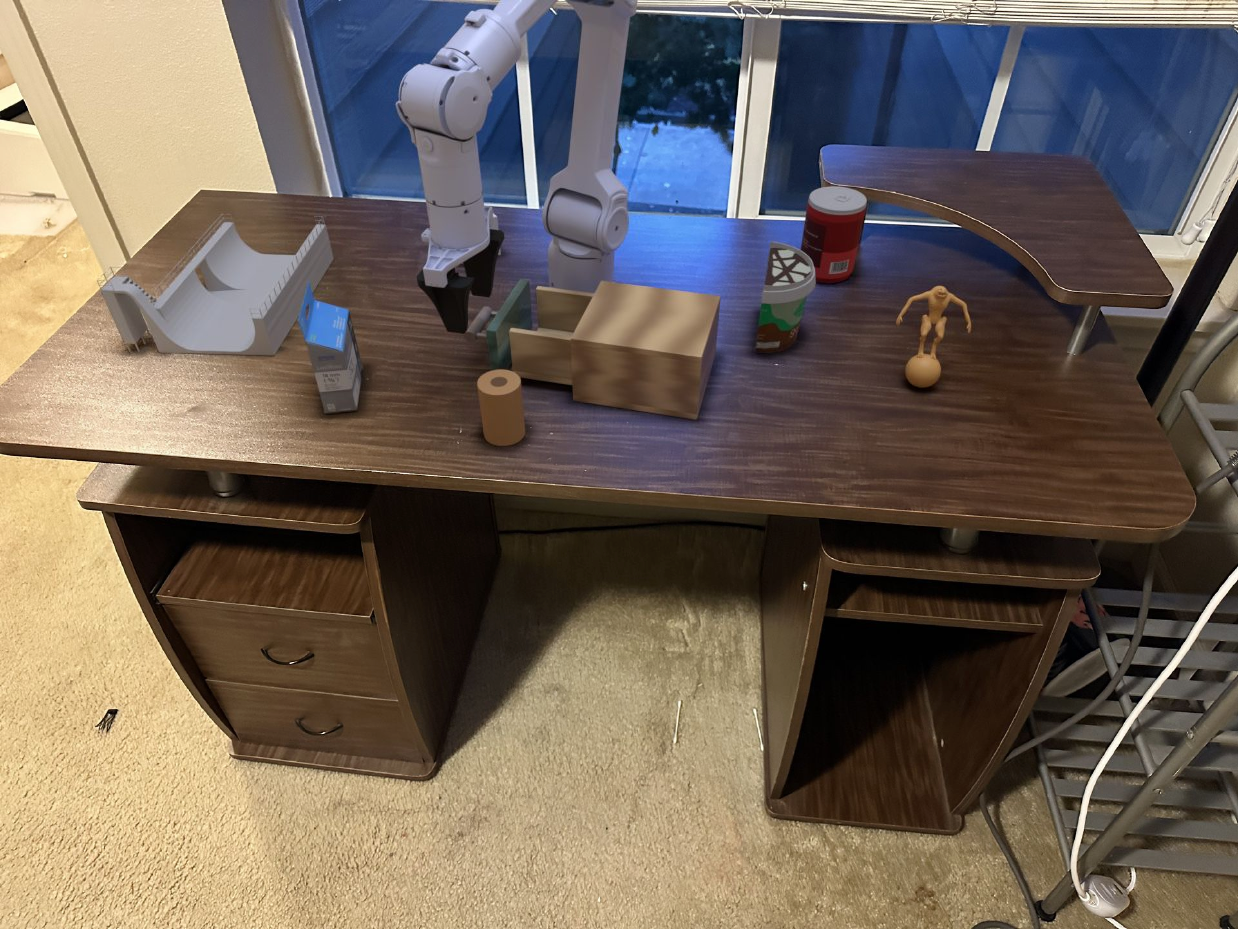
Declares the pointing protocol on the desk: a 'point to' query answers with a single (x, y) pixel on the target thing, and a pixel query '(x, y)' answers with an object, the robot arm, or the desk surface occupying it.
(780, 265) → the food container
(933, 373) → the figurine
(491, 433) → the paper roll
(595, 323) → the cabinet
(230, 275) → the skate ramp
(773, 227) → the desk surface
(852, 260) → the canned food
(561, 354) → the drawer
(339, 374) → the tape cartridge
